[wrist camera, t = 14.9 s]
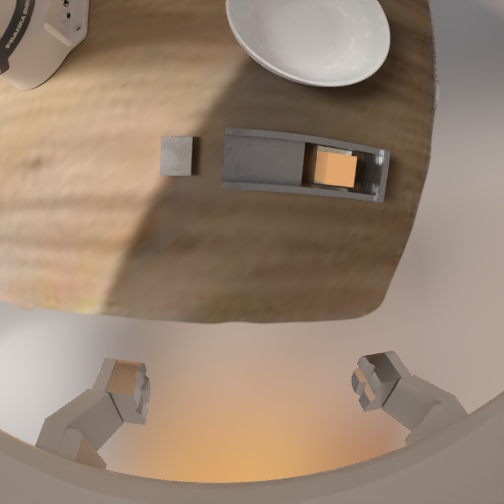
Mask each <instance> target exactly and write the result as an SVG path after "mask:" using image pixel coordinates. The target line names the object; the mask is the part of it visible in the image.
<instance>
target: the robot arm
mask: <svg viewBox="0 0 504 504" xmlns="http://www.w3.org/2000/svg"><path fill="white" fill-rule="evenodd" d="M88 10H89V0H0V79H2V80H5V81H7V82H9V83H10V84H12V85H13V86H14V87H16V88H17V89H19V90H29V89H32V88H35V87H37V86H39V85H40V84H42V83H43V82H44V81H46V80H47V79H48V78H49V77H50V76H51V75H52V74H53V73H54V72H55V71H56V70H57V69H58V67H59V66H60V65H61V63H62V62H63V61H64V59H65V58H66V56H67V55H68V53H69V52H70V51H71V50H72V49H73V48H74V47H76V46H77V45H78V44H79V43H80V42H81V41H82V40H83V39H84V38H85V37H86V35H87V25H88ZM79 28H80V30H78V29H79ZM357 364H358V365H359V367H358V368H357V369H356V370H355V371H354V372H353V375H352V387H353V389H354V392H355V393H357V394H358V395H360V397H359V402H360V404H361V406H362V408H363V410H364V412H366V411H371V410H375V409H379V408H382V410H384V411H385V412H386V413H388V414H389V415H390V416H392V417H393V418H394V419H396V420H397V421H398V422H400V423H401V424H402V425H404V426H405V427H406V428H408V429H409V430H410V431H412V432H411V433H410V434H409V435H408V437H407V438H406V439H405V443H406V445H407V446H405V447H402V448H400V449H397V450H395V451H392V452H389V453H387V454H384V455H381V456H378V457H375V458H372V459H369V460H366V461H362V462H359V463H356V464H352V465H349V466H345V467H341V468H337V469H333V470H329V471H324V472H319V473H314V474H310V475H304V476H298V477H291V478H284V479H276V480H267V481H255V482H238V483H198V482H181V481H169V480H160V479H152V478H145V477H139V476H133V475H128V474H122V473H118V472H113V471H109V470H106V465H107V464H106V463H105V461H104V460H103V459H102V458H101V457H100V456H99V454H98V453H97V451H98V449H99V448H100V447H101V446H102V445H103V444H104V443H105V442H106V441H107V440H108V439H109V438H110V437H111V436H112V435H113V434H114V433H115V432H116V431H117V430H118V428H119V427H120V426H121V425H122V424H123V422H127V423H134V424H144V425H145V422H146V416H147V408H146V405H145V404H147V403H148V402H149V398H150V382H149V378H148V377H146V375H145V374H146V367H145V364H144V363H139V362H131V361H124V360H116V359H110V358H106V359H104V361H103V362H102V365H101V367H100V369H99V372H98V374H97V377H96V380H95V382H94V385H93V388H92V390H91V389H88V390H86V391H85V392H83V393H82V394H80V395H79V396H78V397H76V398H75V399H74V400H72V401H71V402H69V403H68V404H66V405H65V406H63V407H62V408H61V409H59V410H58V411H57V412H55V413H53V414H52V415H51V416H49V417H48V418H46V419H45V422H44V424H43V427H42V429H41V432H40V435H39V437H38V440H37V443H36V445H35V446H33V445H31V444H29V443H27V442H24V441H22V440H20V439H18V438H16V437H14V436H12V435H10V434H8V433H6V432H4V431H2V430H1V429H0V504H504V391H503V392H502V393H500V394H499V395H498V396H496V397H495V398H493V399H492V400H490V401H489V402H487V403H486V404H485V405H483V406H481V407H480V408H478V409H477V410H475V411H474V412H472V413H470V414H469V415H468V414H467V412H466V411H465V409H464V408H463V406H462V405H461V404H460V403H459V401H458V399H457V398H456V397H455V395H453V394H450V393H449V392H447V391H445V390H442V389H440V388H439V387H437V386H435V385H433V384H431V383H429V382H427V381H425V380H423V379H421V378H419V377H417V376H415V375H413V376H412V375H411V374H410V372H409V371H408V370H407V368H406V367H405V365H404V364H403V363H402V361H401V360H400V358H399V357H398V356H397V355H396V353H395V352H394V351H389V352H384V353H378V354H373V355H367V356H362V357H361V358H360V359H359V361H358V363H357Z"/></svg>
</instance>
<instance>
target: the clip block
mask: <svg viewBox="0 0 504 504" xmlns="http://www.w3.org/2000/svg"><path fill="white" fill-rule="evenodd" d="M356 162H357V157H354V156H348V155H343V154H336V153H330V152H322V151H318V152H317V162H316V171H315V180H317V181H319V182H322V183H324V184H329V185H338V186H346V187H353V186H354V178H355V171H356Z"/></svg>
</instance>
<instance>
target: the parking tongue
mask: <svg viewBox="0 0 504 504" xmlns="http://www.w3.org/2000/svg"><path fill="white" fill-rule="evenodd" d="M192 151H193V137H161V156H160V176H191V175H192Z"/></svg>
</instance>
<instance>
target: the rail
mask: <svg viewBox="0 0 504 504" xmlns="http://www.w3.org/2000/svg"><path fill="white" fill-rule="evenodd" d="M305 143H309V144H316V145H323V146H329V147H335V148H341V149H347V150H352V151H358V152H363V153H366V154H365V162H364V170H363V178H362V185H361V189H354V188H346V186H345V187H338V185H337V186H329V184H328V185H320V184H324V183H322V182H319V181H317V180H315V175H314V183H320V184H311V183H301V180H302V170H303V160H304V150H305ZM323 146H317V152H318V151H322V152H330V153H336V154H343V155H348V156H351V155H352V151H347V150H341V149H335V148H329V147H323ZM390 152H391V151H387V150H382V149H378V148H373V147H369V146H364V145H359V144H355V143H350V142H344V141H339V140H333V139H327V138H321V137H315V136H308V135H301V134H293V133H285V132H276V131H266V130H254V129H240V128H226V129H225V138H224V153H223V170H222V189H236V190H256V191H272V192H287V193H299V194H311V195H322V196H332V197H341V198H350V199H359V200H367V201H375V202H378V203H383V201H384V195H385V189H386V183H387V176H388V168H389V160H390ZM316 162H317V156H316ZM315 171H316V165H315Z"/></svg>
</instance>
